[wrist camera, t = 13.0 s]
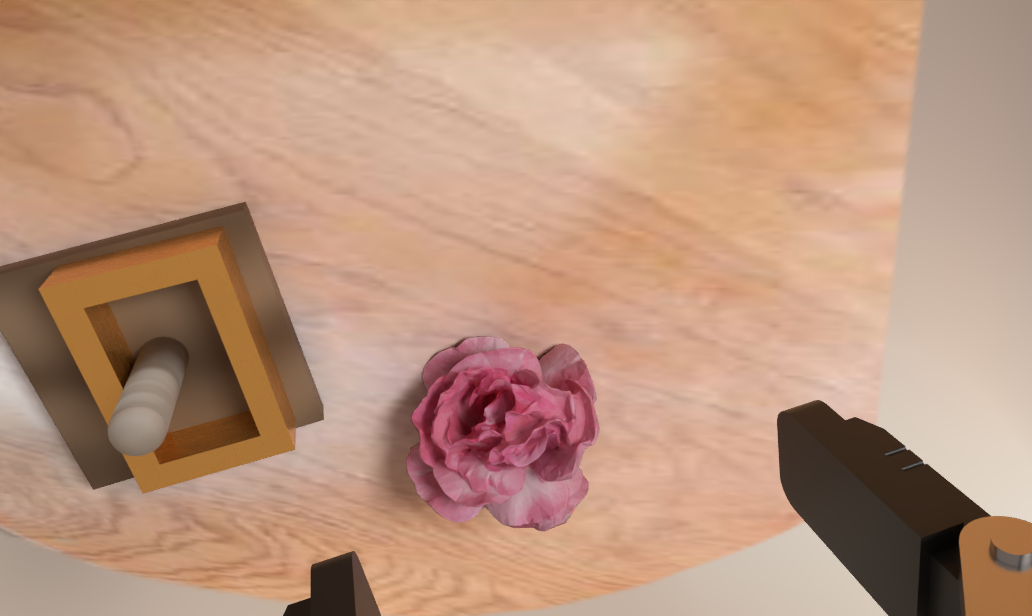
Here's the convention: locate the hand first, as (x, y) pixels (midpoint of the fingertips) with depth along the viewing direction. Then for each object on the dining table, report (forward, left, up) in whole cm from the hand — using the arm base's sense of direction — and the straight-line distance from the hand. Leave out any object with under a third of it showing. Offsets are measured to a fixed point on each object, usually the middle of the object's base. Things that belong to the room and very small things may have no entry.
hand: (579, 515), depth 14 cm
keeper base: (+7, -15, -30) cm, 34 cm away
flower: (+16, +1, -30) cm, 34 cm away
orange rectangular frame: (+7, -14, -29) cm, 32 cm away
